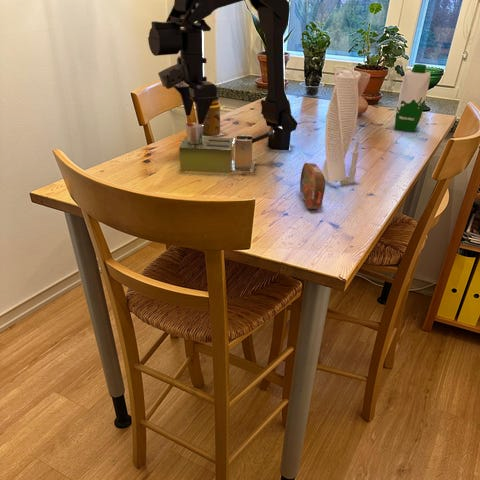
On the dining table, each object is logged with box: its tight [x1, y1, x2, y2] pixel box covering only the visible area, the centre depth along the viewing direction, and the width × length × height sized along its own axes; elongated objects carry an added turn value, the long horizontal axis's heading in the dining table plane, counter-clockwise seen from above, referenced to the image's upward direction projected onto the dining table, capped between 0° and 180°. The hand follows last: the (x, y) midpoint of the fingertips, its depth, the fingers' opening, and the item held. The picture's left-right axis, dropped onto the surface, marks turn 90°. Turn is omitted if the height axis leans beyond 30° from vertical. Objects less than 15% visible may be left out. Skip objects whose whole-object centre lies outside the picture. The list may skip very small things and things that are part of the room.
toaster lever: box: [244, 127, 274, 144], centre depth 125 cm, size 10×6×2 cm, turn 85°
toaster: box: [178, 135, 236, 175], centre depth 129 cm, size 15×10×7 cm
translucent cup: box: [185, 122, 203, 144], centre depth 126 cm, size 4×4×5 cm
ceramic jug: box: [336, 71, 371, 116], centre depth 177 cm, size 18×14×14 cm
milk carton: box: [393, 63, 431, 133], centre depth 160 cm, size 9×9×20 cm
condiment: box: [202, 95, 226, 138], centre depth 153 cm, size 7×8×12 cm
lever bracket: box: [231, 134, 256, 174], centre depth 128 cm, size 6×8×9 cm
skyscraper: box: [320, 64, 361, 187], centre depth 117 cm, size 8×8×28 cm
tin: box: [299, 162, 326, 210], centre depth 112 cm, size 15×3×8 cm, turn 5°
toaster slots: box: [206, 139, 230, 147], centre depth 127 cm, size 6×6×1 cm
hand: (194, 119), depth 124 cm, fingers open, 9 cm apart
